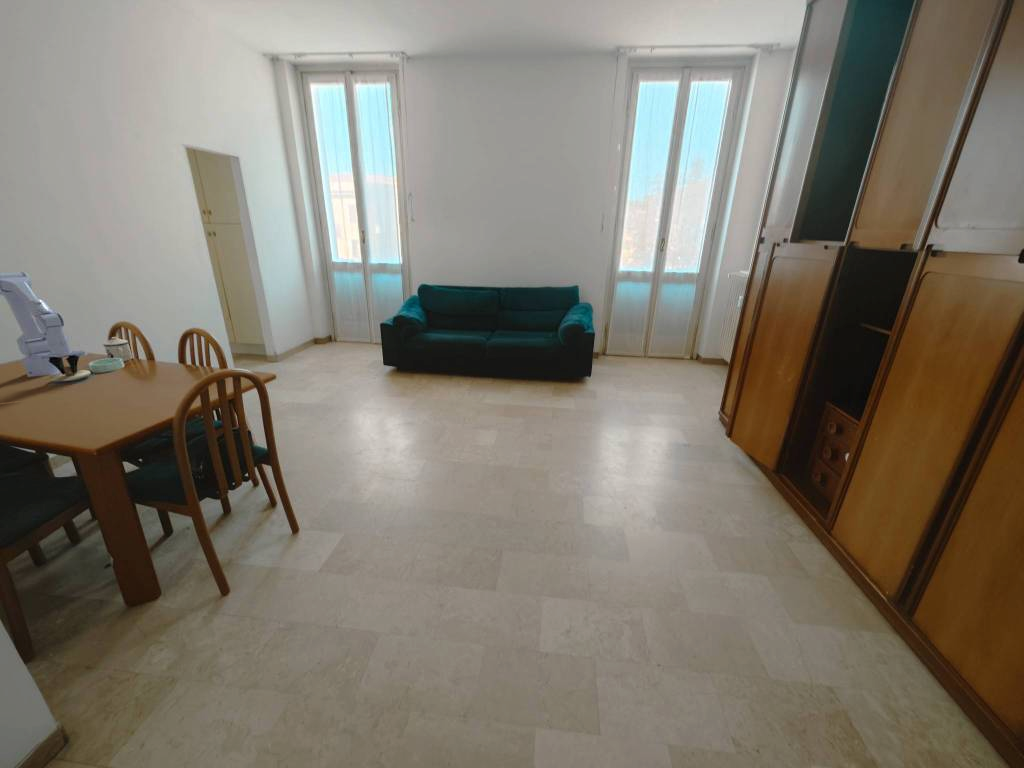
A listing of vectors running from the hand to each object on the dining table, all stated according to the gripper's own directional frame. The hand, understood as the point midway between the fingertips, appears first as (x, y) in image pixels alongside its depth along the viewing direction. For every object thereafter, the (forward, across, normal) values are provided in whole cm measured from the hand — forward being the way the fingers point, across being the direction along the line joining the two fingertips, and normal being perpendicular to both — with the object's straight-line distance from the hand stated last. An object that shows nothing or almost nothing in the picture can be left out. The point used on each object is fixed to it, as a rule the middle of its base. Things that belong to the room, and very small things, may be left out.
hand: (69, 373), depth 171 cm
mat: (+3, 0, 0) cm, 4 cm away
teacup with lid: (+4, +9, +28) cm, 30 cm away
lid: (+2, 0, 0) cm, 2 cm away
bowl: (+3, +8, +13) cm, 16 cm away
